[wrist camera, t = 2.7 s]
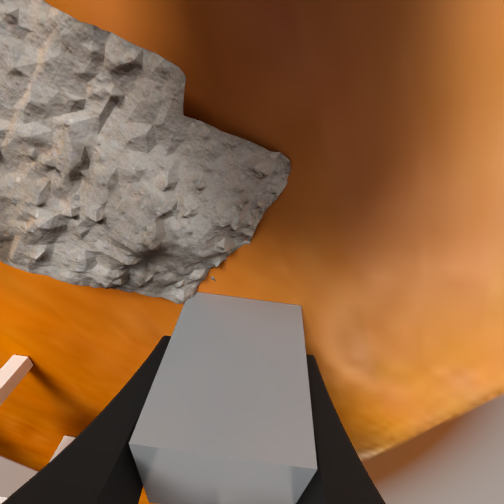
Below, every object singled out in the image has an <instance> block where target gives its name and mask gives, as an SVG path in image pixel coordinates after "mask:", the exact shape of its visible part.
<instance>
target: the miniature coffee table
mask: <svg viewBox="0 0 504 504" xmlns="http://www.w3.org/2000/svg"><path fill="white" fill-rule="evenodd" d="M32 367H33V364H32V362H31V360H30V359H29V357H27V356H20V355H13V356H12V357H11V358H10V359H9V360H8V361H7V362H6V364H5V365H4V366H3V367H2V368H1V369H0V405H1V404H2V403H3V402H4V400H5V399H6V398H7V397H8V396H9V394H10V393H11V392H12V391H13V390H14V388H15V387H16V386H17V385H18V384H19V382H20V381H21V380H22V379H23V377H24V376H25V375H26V374H27V373H28V371H29V370H30V369H31V368H32ZM74 439H75V437H71V436H64V438H63V439H62V441H61V443H60V444H59V446H58V448H57V450H56V451H55V453H54V455H53V457H52V458H51V460H50V461H52V460H53V459H54V458H55V457H56V456H57V455H58V454H59V453H60V452H61V451H62V450H63V449H64V448H65V447H67V446H68V445H69V444H70V443H71V442H72V441H73V440H74ZM6 499H7V498H5V497H0V504H1V503H3V502H4V501H5V500H6Z"/></svg>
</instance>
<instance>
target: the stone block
mask: <svg viewBox="0 0 504 504" xmlns="http://www.w3.org/2000/svg"><path fill="white" fill-rule="evenodd" d="M129 446H130V449H131V452H132V454H133V457H134V460H135V463H136V466H137V469H138V472H139V475H140V477H141V480H142V483H143V486H144V489H145V492H146V495H147V498H148V500H149V502H150V503H158V504H296V503H297V501H298V499H299V498H300V496H301V495H302V493H303V491H304V490H305V488H306V487H307V485H308V484H309V482H310V480H311V479H312V477H313V476H314V474H315V472H316V471H317V460H316V450H315V440H314V430H313V419H312V409H311V399H310V389H309V379H308V369H307V359H306V349H305V338H304V328H303V318H302V308H301V306H300V305H293V304H285V303H277V302H270V301H262V300H255V299H247V298H240V297H232V296H224V295H217V294H209V293H202V292H196V293H195V295H194V297H193V298H190V299H188V300H186V301H185V304H184V306H183V309H182V311H181V314H180V316H179V319H178V321H177V324H176V326H175V329H174V331H173V334H172V336H171V339H170V341H169V344H168V346H167V349H166V351H165V354H164V356H163V359H162V361H161V364H160V366H159V369H158V371H157V374H156V376H155V379H154V381H153V384H152V387H151V389H150V392H149V394H148V397H147V399H146V402H145V404H144V407H143V409H142V412H141V414H140V417H139V419H138V422H137V424H136V427H135V429H134V432H133V434H132V437H131V439H130V442H129Z"/></svg>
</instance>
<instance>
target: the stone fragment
mask: <svg viewBox="0 0 504 504" xmlns="http://www.w3.org/2000/svg"><path fill="white" fill-rule="evenodd" d="M185 83H186V76H185V74H184V73H183V72H182V70H181V69H180V68H179V67H178V66H176V65H175V64H173V63H171V62H169V61H168V60H166V59H164V58H163V57H161V56H160V55H158V54H156V53H154V52H152V51H149V50H146V49H144V48H141V47H139V46H137V45H134V44H132V43H130V42H128V41H126V40H125V39H123V38H121V37H119V36H117V35H115V34H113V33H112V32H108V31H105V30H102V29H100V28H98V27H96V26H94V25H91V24H87V23H84V22H80V21H78V20H76V19H75V18H73V17H71V16H69V15H68V14H66V13H64V12H62V11H60V10H58V9H56V8H54V7H52V6H51V5H49V4H48V3H46V2H45V1H43V0H0V260H1V261H2V262H3V263H5V264H7V265H9V266H12V267H15V268H18V269H21V270H24V271H27V272H30V273H35V274H42V275H47V276H50V277H52V278H54V279H57V280H60V281H63V282H67V283H70V284H73V285H82V286H91V287H94V288H98V287H102V288H106V289H108V288H113V289H119V290H121V291H126V292H136V293H139V294H143V295H146V296H151V297H163V298H165V299H168V300H171V301H173V302H175V303H176V304H180V303H185V301H186V300H188V299H190V298H193V297H194V295H195V293H196V291H197V287H198V286H199V284H200V283H201V281H202V280H204V279H205V278H206V276H207V274H208V272H209V270H210V268H212V267H218V266H219V264H220V263H221V262H222V261H224V260H226V259H227V258H226V257H228V256H229V254H231V253H232V252H234V251H235V250H237V249H238V248H239V247H240V246H242V245H244V244H250V239H251V238H252V237H253V233H254V232H255V230H256V226H257V225H258V223H259V222H260V220H261V219H262V216H263V214H264V213H265V211H266V210H267V208H268V207H269V206H270V205H272V204H273V202H274V201H275V200H276V199H277V198H278V196H279V195H280V194H281V192H282V191H283V189H284V188H285V187H286V185H287V182H288V181H287V180H286V179H287V178H288V176H289V173H290V171H291V166H290V160H289V159H288V158H287V157H285V156H284V155H283V154H282V153H281V152H271V151H269V150H267V149H265V148H263V147H261V146H259V145H257V144H255V143H252V142H250V141H248V140H246V139H243V138H240V137H237V136H234V135H231V134H228V133H225V132H223V131H220V130H218V129H217V128H215V127H213V126H211V125H208V124H206V123H204V122H202V121H199V120H196V119H193V118H190V117H186V116H184V113H183V101H184V89H185ZM245 239H247V240H248V241H244V240H245ZM210 279H212V280H215V279H214V277H211V278H210ZM215 281H216V280H215Z"/></svg>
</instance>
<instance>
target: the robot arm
mask: <svg viewBox="0 0 504 504" xmlns="http://www.w3.org/2000/svg"><path fill="white" fill-rule="evenodd" d="M170 339H171V336H164V337H162V339H161V340H160V341H159V343H158V344H157V346H156V347H155V349H154V350H153V351H152V353H151V354H150V355H149V357H148V358H147V359H146V360H145V362H144V363H143V364H142V366H141V367H140V368H139V369H138V371H137V372H136V373H135V374H134V375H133V377H132V378H131V379H130V380H129V381H128V383H127V384H126V385H125V386H124V387H123V389H122V390H121V391H120V392H119V393H118V394H117V395H116V396H115V397H114V399H113V400H112V401H111V402H110V403H109V404H108V405H107V406H106V407H105V409H104V410H103V411H102V412H101V413H100V414H99V415H98V416H97V417H96V418H95V419H94V420H93V421H92V422H91V423H90V424H89V425H88V426H87V427H86V428H85V429H84V430H83V431H82V432H81V433H80V434H79V435H78V436H77V437H76V438H75V439H74V440H73V441H72V442H71V443H70V444H69V445H68V446H67V447H65V448H64V449H63V450H62V451H61V452H60V453H59V454H58V455H57V456H56V457H55V458H54V459H53V460H52V461H50V462H49V463H48V464H47V465H46V466H45V467H44V468H43V469H41V470H40V471H39V472H38V473H37V474H36V475H35V476H33V477H32V478H31V479H30V480H29V481H28V482H26V483H25V484H24V485H23V486H22V487H20V488H19V489H18V490H17V491H16V492H14V493H13V494H12V495H11V496H10V497H9V498H7V499H6V500H5V501H4V502H3V503H1V504H138V502H139V498H140V495H141V491H142V488H143V483H142V480H141V477H140V475H139V472H138V469H137V466H136V463H135V460H134V457H133V454H132V452H131V449H130V446H129V442H130V439H131V437H132V434H133V432H134V429H135V427H136V424H137V422H138V419H139V417H140V414H141V412H142V409H143V407H144V404H145V402H146V399H147V397H148V394H149V392H150V389H151V387H152V384H153V381H154V379H155V376H156V374H157V371H158V369H159V366H160V364H161V361H162V359H163V356H164V354H165V351H166V349H167V346H168V344H169V341H170ZM306 359H307V369H308V379H309V389H310V399H311V409H312V419H313V430H314V440H315V450H316V460H317V471H316V472H315V474H314V476H313V477H312V479H311V480H310V482H309V484H308V485H307V487H306V488H305V490H304V491H303V493H302V495H301V496H300V498H299V499H298V501H297V503H296V504H385V502H384V500H383V499H382V497H381V495H380V494H379V492H378V490H377V489H376V487H375V485H374V484H373V482H372V480H371V478H370V477H369V475H368V473H367V471H366V470H365V468H364V466H363V464H362V462H361V461H360V459H359V457H358V455H357V453H356V451H355V449H354V447H353V445H352V443H351V441H350V439H349V437H348V435H347V434H346V432H345V429H344V427H343V425H342V423H341V421H340V419H339V417H338V414H337V412H336V410H335V408H334V406H333V403H332V401H331V399H330V396H329V394H328V392H327V389H326V387H325V384H324V382H323V379H322V376H321V374H320V371H319V368H318V365H317V362H316V359H315V357H314V356H313V355H307V354H306Z"/></svg>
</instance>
